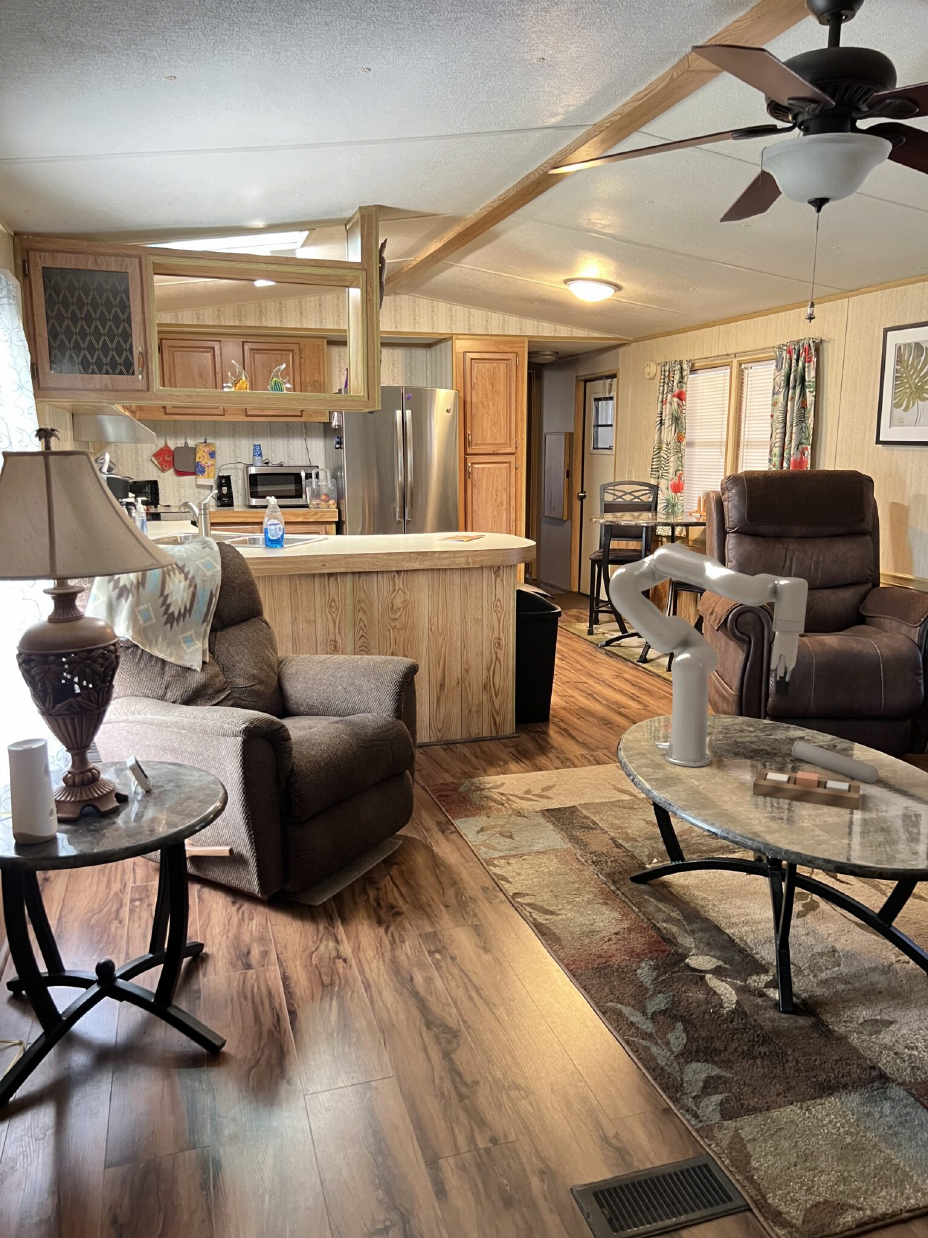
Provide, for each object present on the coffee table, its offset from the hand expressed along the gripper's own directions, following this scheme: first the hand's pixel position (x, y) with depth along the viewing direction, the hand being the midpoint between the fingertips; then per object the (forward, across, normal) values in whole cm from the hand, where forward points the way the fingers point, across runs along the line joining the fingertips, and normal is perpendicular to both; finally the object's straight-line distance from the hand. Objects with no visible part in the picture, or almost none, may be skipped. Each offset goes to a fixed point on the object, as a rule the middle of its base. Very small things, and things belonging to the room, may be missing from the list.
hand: (782, 695), depth 232 cm
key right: (+21, +11, +16) cm, 28 cm away
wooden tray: (+22, +11, +9) cm, 26 cm away
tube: (+22, -12, +14) cm, 28 cm away
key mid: (+20, +11, +9) cm, 24 cm away
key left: (+21, +11, +2) cm, 24 cm away
